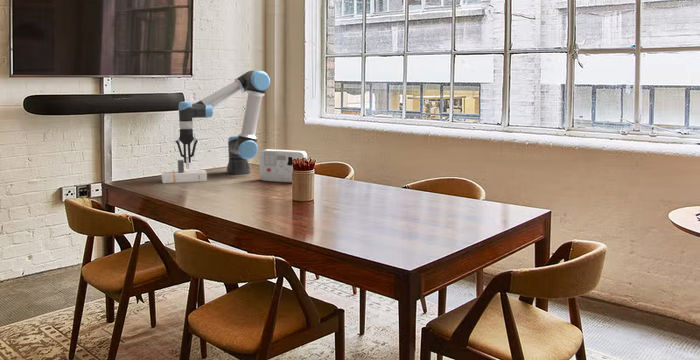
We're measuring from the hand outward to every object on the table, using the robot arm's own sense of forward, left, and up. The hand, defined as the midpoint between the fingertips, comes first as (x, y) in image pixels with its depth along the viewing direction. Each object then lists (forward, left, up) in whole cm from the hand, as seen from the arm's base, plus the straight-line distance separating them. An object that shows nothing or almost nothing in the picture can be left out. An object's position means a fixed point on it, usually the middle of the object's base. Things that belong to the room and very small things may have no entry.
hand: (187, 168), depth 390 cm
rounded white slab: (-53, +20, -7) cm, 57 cm away
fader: (+4, 0, -7) cm, 8 cm away
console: (+2, 0, -7) cm, 7 cm away
